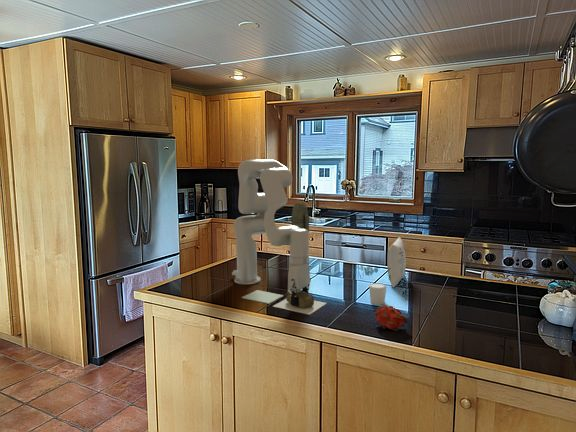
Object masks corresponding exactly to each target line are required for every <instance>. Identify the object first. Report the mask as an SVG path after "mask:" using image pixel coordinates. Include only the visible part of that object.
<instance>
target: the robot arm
mask: <svg viewBox="0 0 576 432" xmlns="http://www.w3.org/2000/svg"><path fill="white" fill-rule="evenodd" d="M237 176H238V182H239V189H238V202H237V203H238V206H237V207H238V211H239V213H240V214H243V215H241V216H239V217H237V218H236V219H235V220H234V222H233V232H234V234H235V245H236V247H235V248H236V249H235V250H236V269H233V271H232V272H231V276H235V278H234V279H233V280H234V283H235V284H237V285H254V284H257V283H260V282H261V277H260V276H259V275H258V258H257V257H258V256H257V252H258V251H257V243H256V241H255V239H254V238H253V236H256V235H264V234H265V235H266V238H267V240H268V243H269V244H270V245H271V246H273V247H281V246H287V245H288V246H289V266H288V275H287V291H288V292H289V294H290V296H291V305H292V306H296V307H298V306H299V297H298V292H299V290H301V291H303V292H306V293H309V290H310V286H311V285H310V284H311V281H312V278H311V275H310V274H311V270H310V243H309V242H310V236H309V235H310V234H309V233H310V231H309V232H308V230H306V229H302V228H299V227H297V226H292V225H285V226H279V227H277V225H276V223H275V214H276V212H277V211H278V210H279V209H281V208H284V207H285V206H286V205H287V203H288V198H287V197H288V196H287V194H286V191H285V188H289V187H290V186H291V185H292V183H293V179H294V178H293V174H292V172H291V170H290V169H289V168H288V167H287V166H285V165H284V164H282V163H280V162H279V161H277V160H275V159H270V158H269V159H267V158H266V159H258V158H257V159H246V160H242V161H241V162H240V163H239V164H238V168H237ZM257 179H259V181H260V184H261V187H262V190H263V192H259V191H258V190H259V184H258V182H257ZM294 290H296V293H295V292H294ZM309 294H310V293H309Z"/></svg>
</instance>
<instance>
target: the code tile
mask: <svg viewBox="0 0 576 432" xmlns="http://www.w3.org/2000/svg"><path fill="white" fill-rule="evenodd" d="M325 305H327V302H324V301H323V302H322V301H318V300H314V305H313V306H311V307H308V308H301V307H299V306H298V307H296V306H292V305H291V303H289V302H288V301H287V300H286V298H284V299H283V300H281V301H280V302H278V303H275V304H274V305H272V307H273V308H278V309H283V310H287V311H291V312H295V313H299V314H300V313H301V314H303V315H309V316H310V315H311V314H313V313H314V312H316V311H318V310H320V309H321V308H322V307H323V306H325Z"/></svg>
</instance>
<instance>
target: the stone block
mask: <svg viewBox="0 0 576 432" xmlns="http://www.w3.org/2000/svg"><path fill="white" fill-rule="evenodd" d="M301 290H302V289H300V290H299V292H298V297H299V307H301V308H308V307H311V306H313V305H314V301H315V300H314V298H315V297H314V295H313V294H311V293H306V292H303V291H301ZM294 292H295V293H296V290H294ZM285 299H286V300H287V301H288V302H289V303H291V296H290V294H289V292H288V290H287V291H286V297H285Z"/></svg>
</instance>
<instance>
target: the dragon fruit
mask: <svg viewBox="0 0 576 432" xmlns="http://www.w3.org/2000/svg"><path fill="white" fill-rule="evenodd" d="M374 316H375V317H374V321H375V322H377V323H379V324H380V325H381V327H382V330H385V329H386V328H388V329H390V330H391V331H395V332H396V331H397V332H398V331H400V329H399V328H402V327H405V326H406V324H407V323H408V324H409V321H408V320H409V319H408V318H407V316H406V315H404V314H403V313H402V311H401V310H400V309H398V308H397V309H396V308H395V307H394V306H392V305H387V304H382V306H381V305H380V306H378V307H377V308H376V309H375V312H374Z"/></svg>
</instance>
